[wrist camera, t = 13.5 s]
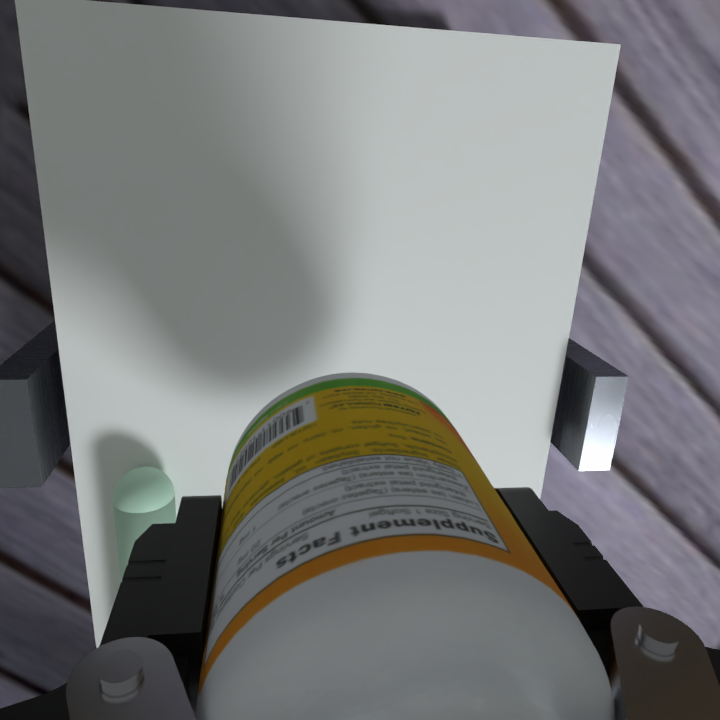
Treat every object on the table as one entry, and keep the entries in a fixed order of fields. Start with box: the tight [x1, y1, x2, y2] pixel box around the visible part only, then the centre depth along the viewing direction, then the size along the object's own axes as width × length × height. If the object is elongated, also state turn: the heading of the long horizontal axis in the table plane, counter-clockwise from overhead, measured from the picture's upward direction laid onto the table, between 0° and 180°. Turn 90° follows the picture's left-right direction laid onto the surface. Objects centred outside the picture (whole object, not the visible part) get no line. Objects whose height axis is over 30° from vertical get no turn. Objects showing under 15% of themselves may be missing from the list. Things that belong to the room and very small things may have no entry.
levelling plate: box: [15, 0, 621, 648], centre depth 17 cm, size 20×14×3 cm
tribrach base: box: [0, 321, 629, 488], centre depth 20 cm, size 22×17×8 cm
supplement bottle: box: [195, 372, 615, 720], centre depth 9 cm, size 5×5×10 cm
